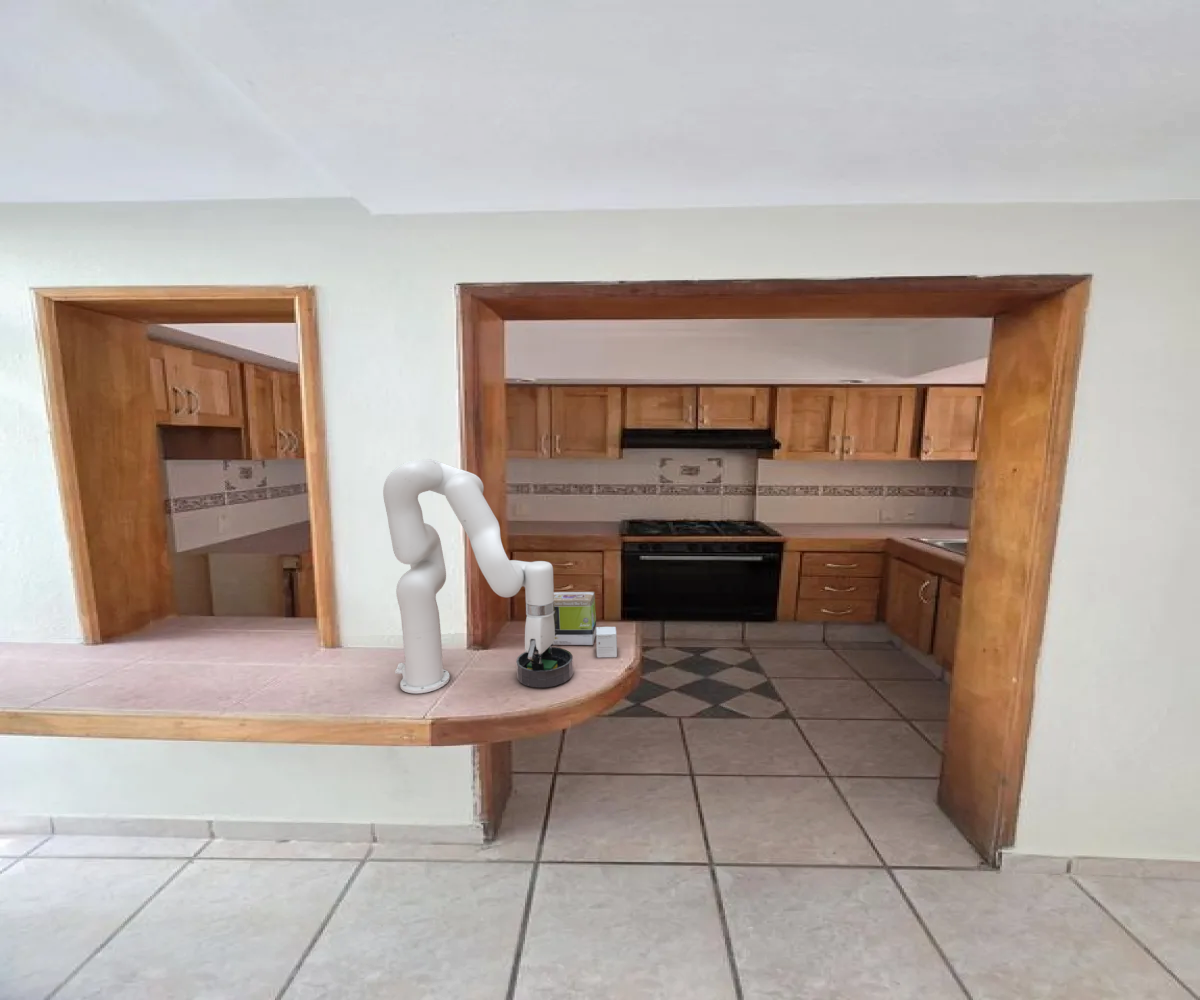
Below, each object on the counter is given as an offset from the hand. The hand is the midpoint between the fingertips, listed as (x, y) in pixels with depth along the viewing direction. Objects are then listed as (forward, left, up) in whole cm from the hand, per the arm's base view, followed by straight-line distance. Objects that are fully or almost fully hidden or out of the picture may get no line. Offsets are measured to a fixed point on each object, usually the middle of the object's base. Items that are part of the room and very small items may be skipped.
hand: (542, 672), depth 135 cm
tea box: (-2, +26, -2) cm, 27 cm away
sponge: (0, 0, 0) cm, 0 cm away
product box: (+12, +19, -2) cm, 23 cm away
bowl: (0, +1, -2) cm, 2 cm away
